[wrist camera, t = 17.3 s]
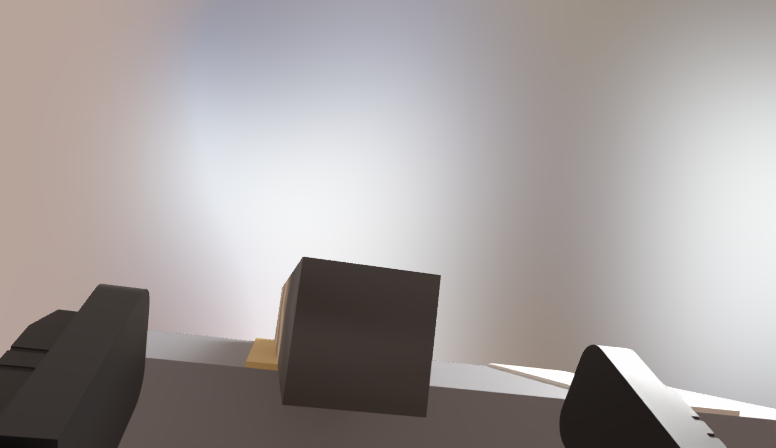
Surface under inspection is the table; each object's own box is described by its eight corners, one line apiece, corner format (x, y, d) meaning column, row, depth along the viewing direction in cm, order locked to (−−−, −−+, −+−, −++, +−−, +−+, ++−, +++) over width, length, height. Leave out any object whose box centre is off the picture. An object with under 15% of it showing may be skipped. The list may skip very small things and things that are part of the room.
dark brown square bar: (426, 417, 12) (440, 275, 13) (282, 404, 12) (303, 256, 12) (326, 345, 33) (333, 293, 34) (274, 340, 33) (282, 287, 33)
